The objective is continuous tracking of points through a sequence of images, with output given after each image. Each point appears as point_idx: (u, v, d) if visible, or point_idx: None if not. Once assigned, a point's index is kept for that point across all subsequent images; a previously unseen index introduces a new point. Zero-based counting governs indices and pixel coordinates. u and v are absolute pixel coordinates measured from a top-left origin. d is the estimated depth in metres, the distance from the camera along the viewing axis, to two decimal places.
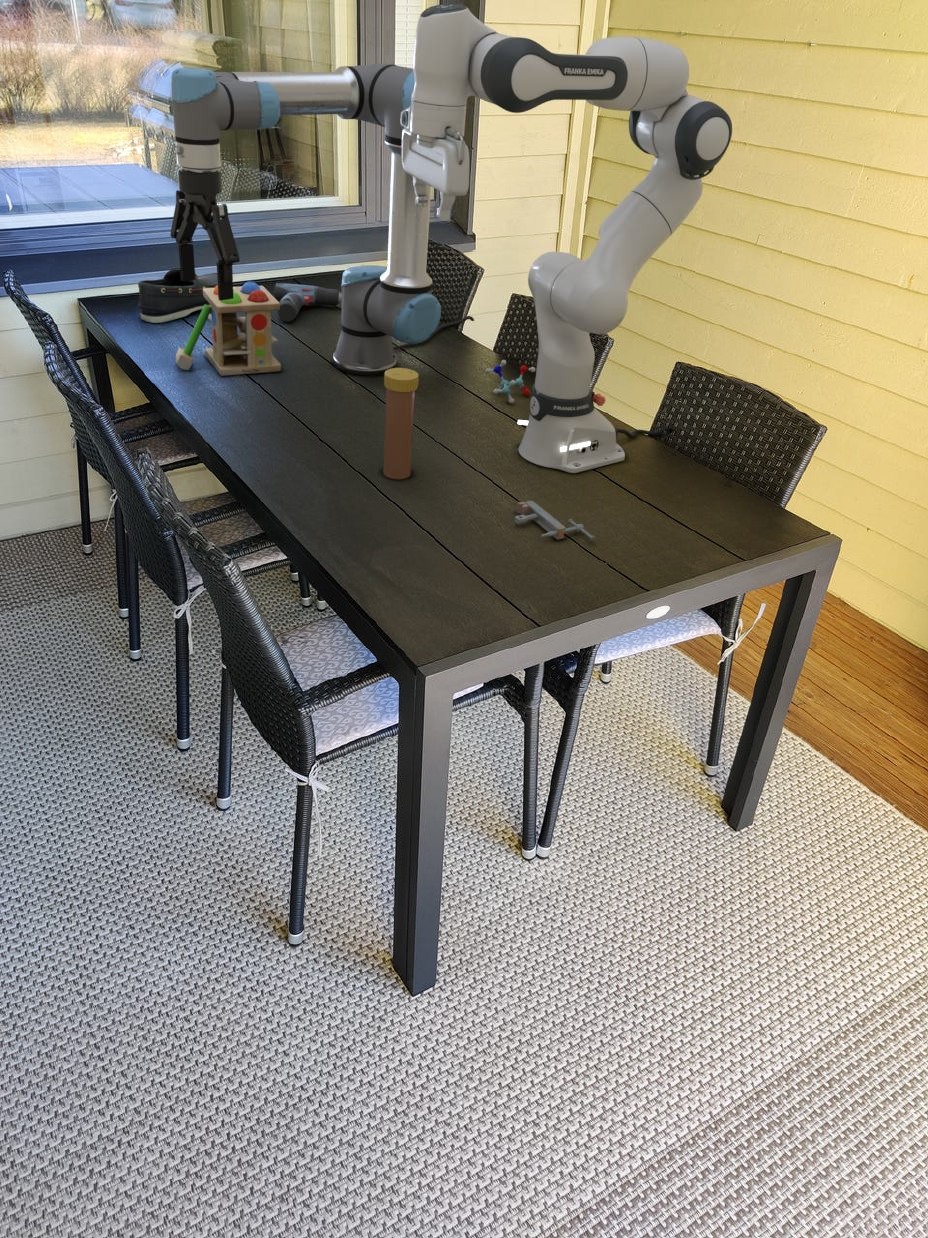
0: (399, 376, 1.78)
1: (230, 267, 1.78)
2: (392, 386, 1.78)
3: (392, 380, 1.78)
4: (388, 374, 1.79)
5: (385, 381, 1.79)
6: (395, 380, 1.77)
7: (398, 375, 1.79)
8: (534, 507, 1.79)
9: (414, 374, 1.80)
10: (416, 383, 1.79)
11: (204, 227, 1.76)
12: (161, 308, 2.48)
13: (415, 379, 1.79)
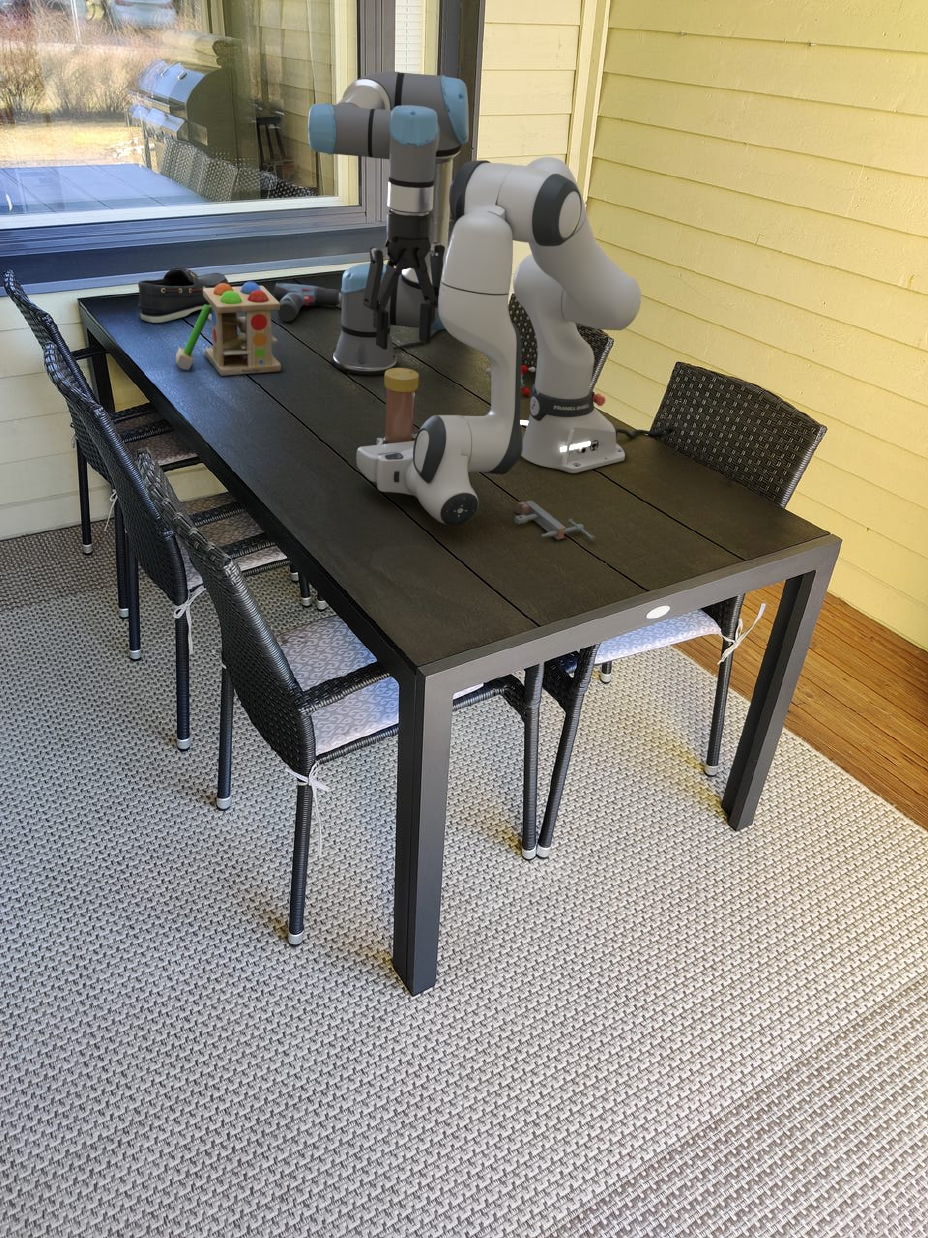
0: (399, 376, 1.78)
1: (375, 314, 1.70)
2: (392, 386, 1.78)
3: (392, 380, 1.78)
4: (388, 374, 1.79)
5: (385, 381, 1.79)
6: (395, 380, 1.77)
7: (398, 375, 1.79)
8: (534, 507, 1.79)
9: (414, 374, 1.80)
10: (416, 383, 1.79)
11: None
12: (161, 308, 2.48)
13: (415, 379, 1.79)
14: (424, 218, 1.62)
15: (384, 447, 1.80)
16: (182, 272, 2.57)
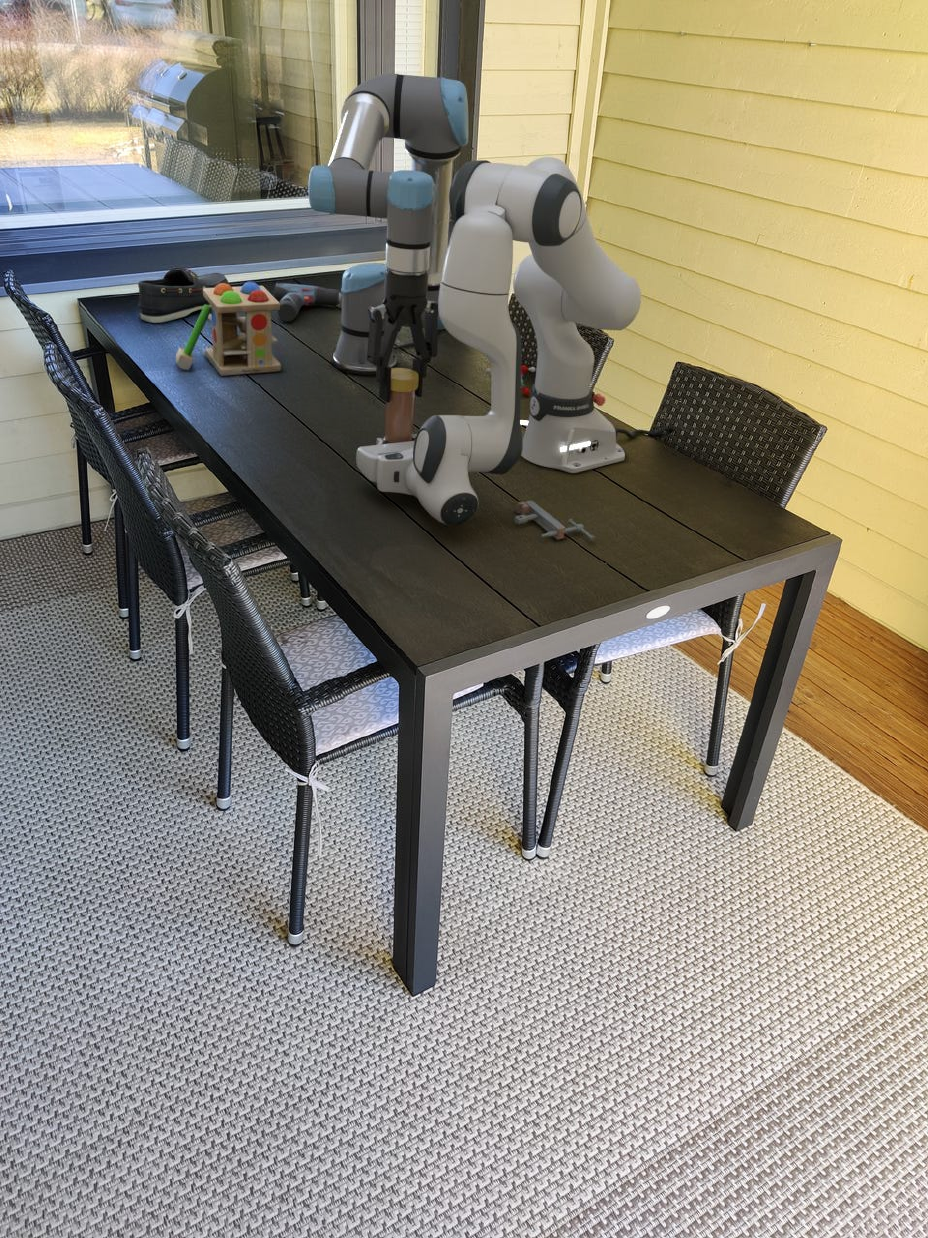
0: (399, 376, 1.78)
1: (379, 369, 1.76)
2: (392, 386, 1.78)
3: (392, 380, 1.78)
4: None
5: None
6: (395, 380, 1.77)
7: (398, 375, 1.79)
8: (534, 507, 1.79)
9: (414, 374, 1.80)
10: (416, 383, 1.79)
11: None
12: (161, 308, 2.48)
13: (415, 379, 1.79)
14: (421, 277, 1.67)
15: (384, 447, 1.80)
16: (182, 272, 2.57)
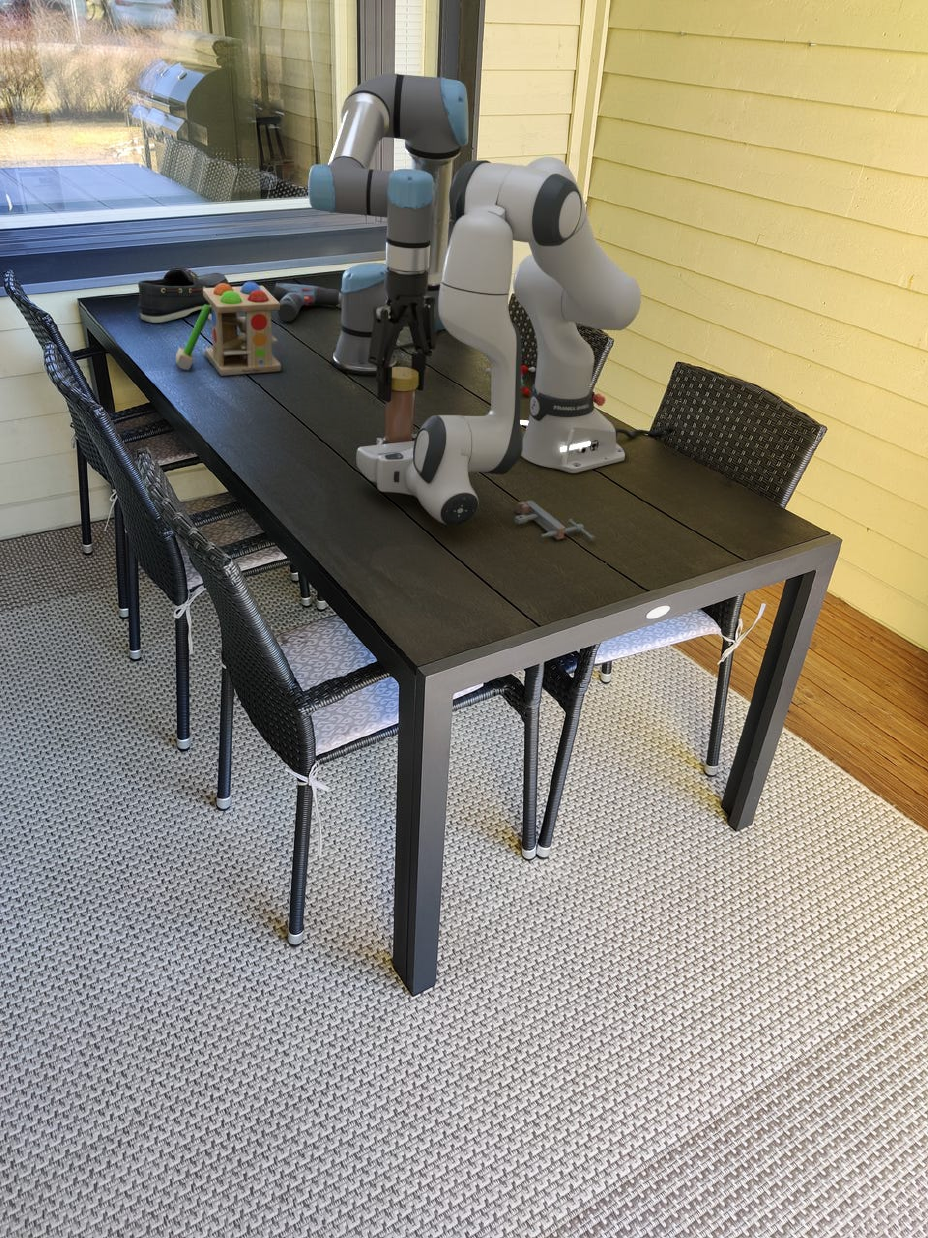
0: (409, 374, 1.79)
1: (380, 370, 1.74)
2: (413, 385, 1.79)
3: (414, 379, 1.78)
4: (404, 377, 1.77)
5: (405, 385, 1.78)
6: (416, 377, 1.79)
7: (406, 374, 1.79)
8: (534, 507, 1.79)
9: (403, 368, 1.81)
10: None
11: None
12: (161, 308, 2.48)
13: None
14: (424, 275, 1.68)
15: (384, 447, 1.80)
16: (182, 272, 2.57)
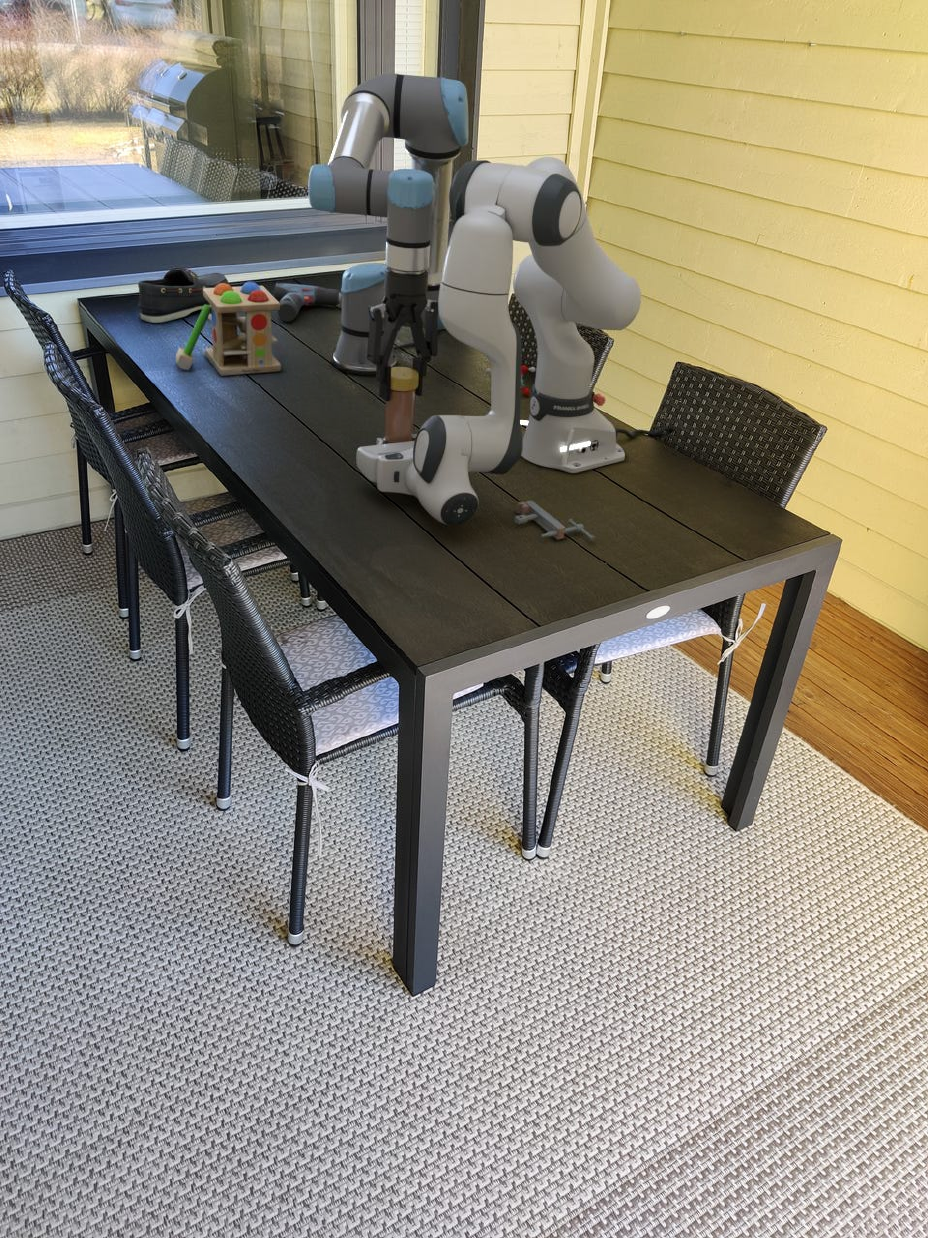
0: (409, 374, 1.79)
1: (379, 368, 1.76)
2: (413, 385, 1.79)
3: (414, 379, 1.78)
4: (404, 377, 1.77)
5: (405, 385, 1.78)
6: (416, 377, 1.79)
7: (406, 374, 1.79)
8: (534, 507, 1.79)
9: (403, 368, 1.81)
10: None
11: None
12: (161, 308, 2.48)
13: None
14: (421, 276, 1.67)
15: (384, 447, 1.80)
16: (182, 272, 2.57)
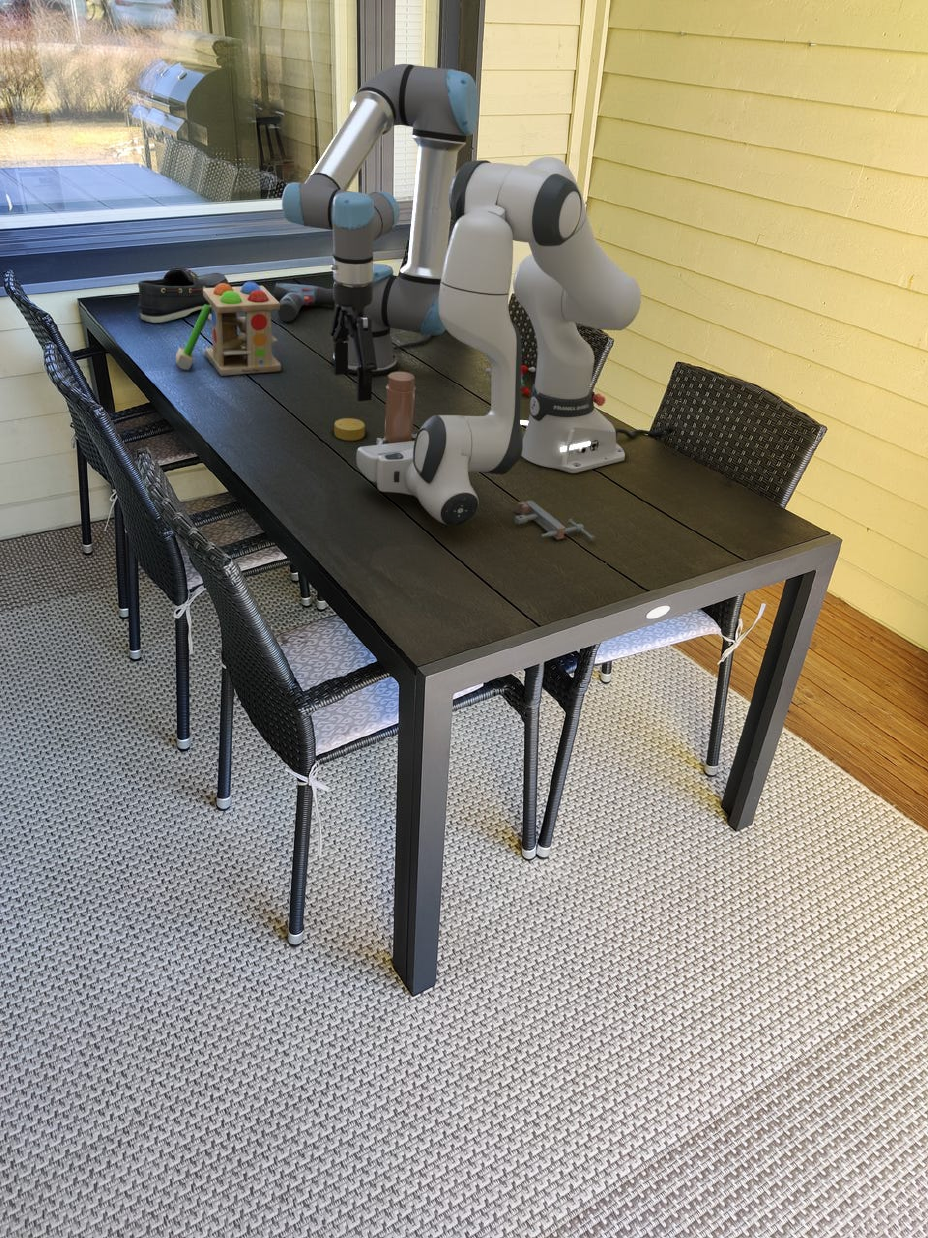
0: (353, 421, 2.04)
1: (369, 373, 1.90)
2: None
3: None
4: (361, 424, 2.03)
5: (364, 429, 2.04)
6: None
7: (353, 422, 2.03)
8: (534, 507, 1.79)
9: (338, 422, 2.03)
10: None
11: (350, 335, 1.89)
12: (161, 308, 2.48)
13: None
14: None
15: (384, 447, 1.80)
16: (182, 272, 2.57)
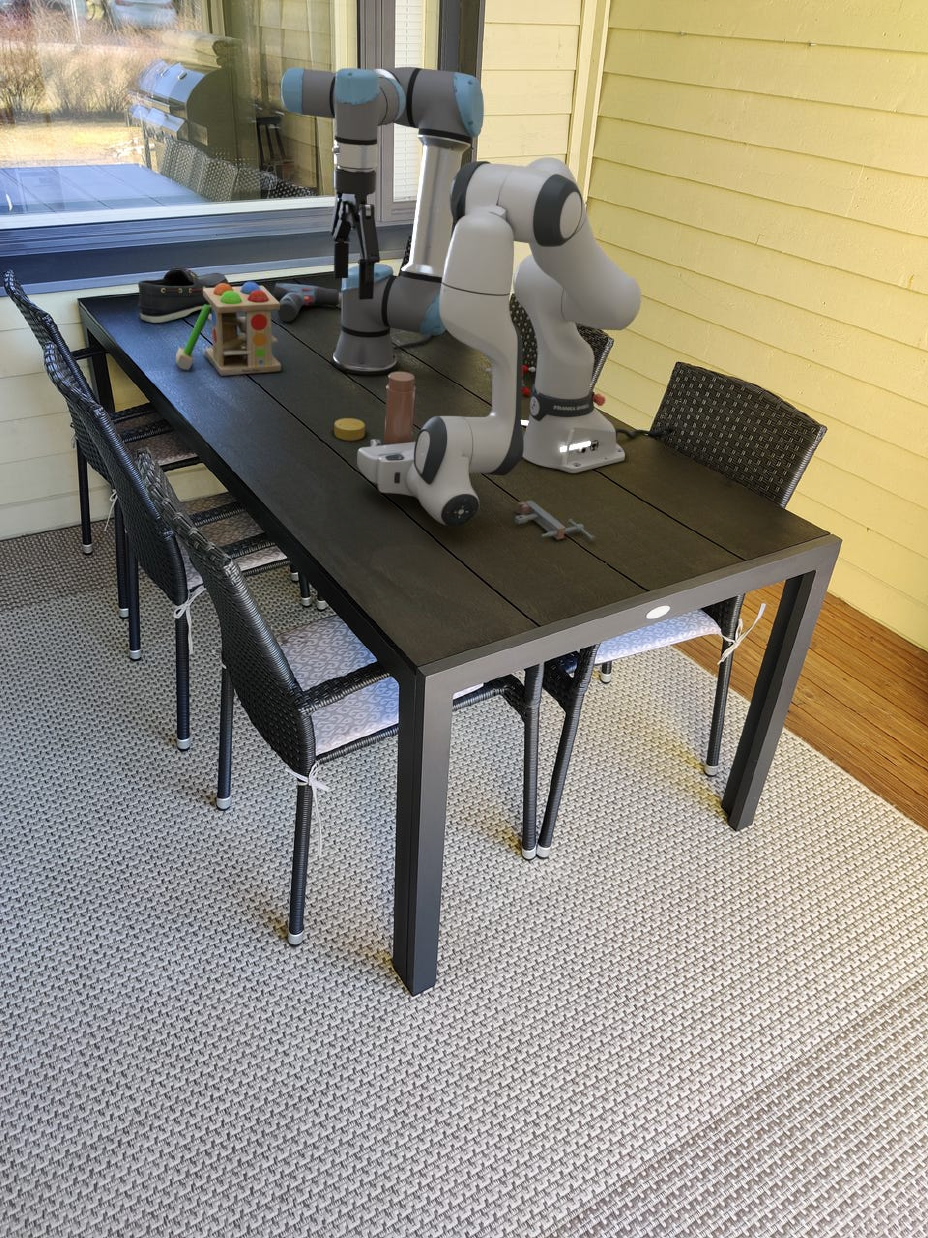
0: (353, 421, 2.04)
1: (371, 267, 1.78)
2: None
3: None
4: (361, 424, 2.03)
5: (364, 429, 2.04)
6: None
7: (353, 422, 2.03)
8: (534, 507, 1.79)
9: (338, 422, 2.03)
10: None
11: (352, 226, 1.77)
12: (161, 308, 2.48)
13: None
14: None
15: (385, 448, 1.80)
16: (182, 272, 2.57)
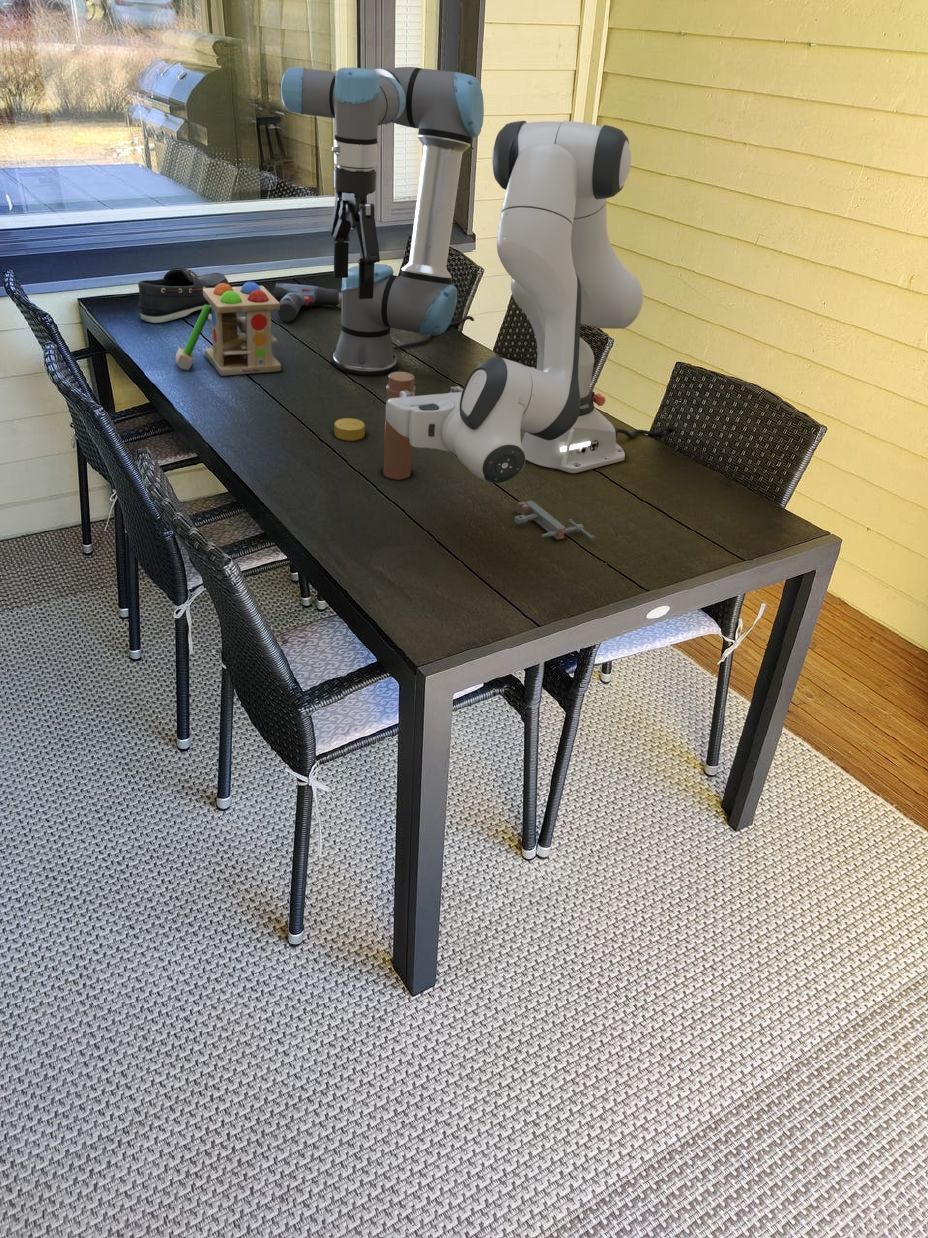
0: (353, 421, 2.04)
1: (371, 267, 1.78)
2: None
3: None
4: (361, 424, 2.03)
5: (364, 429, 2.04)
6: None
7: (353, 422, 2.03)
8: (534, 507, 1.79)
9: (338, 422, 2.03)
10: None
11: (352, 225, 1.77)
12: (161, 308, 2.48)
13: None
14: None
15: (416, 399, 1.62)
16: (182, 272, 2.57)
